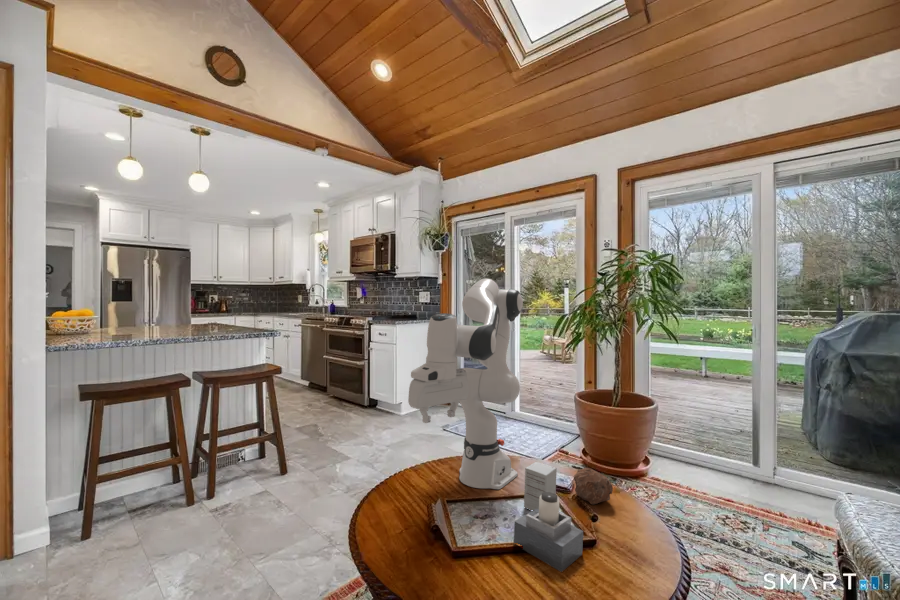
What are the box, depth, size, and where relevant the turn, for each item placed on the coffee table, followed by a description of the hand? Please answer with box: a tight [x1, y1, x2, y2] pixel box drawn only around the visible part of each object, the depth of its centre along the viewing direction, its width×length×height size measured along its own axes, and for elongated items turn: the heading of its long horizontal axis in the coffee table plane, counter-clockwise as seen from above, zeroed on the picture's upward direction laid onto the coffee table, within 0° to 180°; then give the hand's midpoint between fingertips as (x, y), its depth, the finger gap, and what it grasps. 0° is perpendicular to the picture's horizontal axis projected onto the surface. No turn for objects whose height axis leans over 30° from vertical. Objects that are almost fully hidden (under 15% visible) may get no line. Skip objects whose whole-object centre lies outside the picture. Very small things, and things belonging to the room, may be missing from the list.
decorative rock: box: [573, 467, 614, 505], centre depth 129 cm, size 13×11×10 cm
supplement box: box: [523, 461, 557, 510], centre depth 122 cm, size 7×7×13 cm
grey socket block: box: [513, 509, 584, 573], centre depth 103 cm, size 13×14×8 cm
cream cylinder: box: [539, 492, 560, 526], centre depth 102 cm, size 5×5×8 cm
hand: (439, 419), depth 113 cm, fingers open, 8 cm apart
